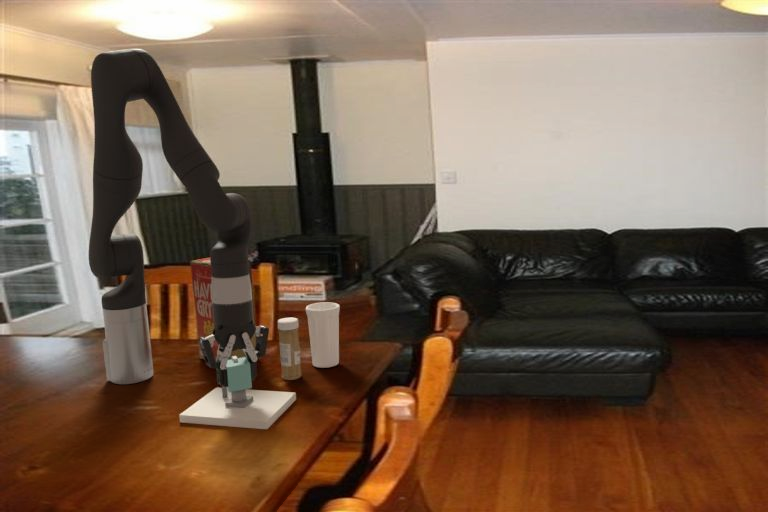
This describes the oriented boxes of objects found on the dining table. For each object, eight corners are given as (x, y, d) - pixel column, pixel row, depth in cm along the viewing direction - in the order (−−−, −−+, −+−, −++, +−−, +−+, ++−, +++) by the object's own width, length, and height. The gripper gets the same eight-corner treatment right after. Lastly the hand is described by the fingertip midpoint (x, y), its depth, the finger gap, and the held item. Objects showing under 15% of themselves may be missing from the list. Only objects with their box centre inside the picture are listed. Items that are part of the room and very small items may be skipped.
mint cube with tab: (251, 387, 121) (249, 360, 120) (229, 392, 119) (226, 364, 118) (246, 380, 125) (244, 354, 124) (224, 385, 123) (222, 357, 122)
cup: (330, 372, 142) (326, 312, 139) (301, 367, 146) (298, 308, 143) (349, 361, 149) (346, 303, 146) (321, 357, 153) (318, 300, 150)
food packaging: (197, 358, 155) (188, 260, 151) (228, 348, 162) (220, 254, 158) (228, 369, 147) (220, 265, 143) (260, 358, 154) (253, 258, 150)
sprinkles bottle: (305, 377, 139) (301, 319, 137) (286, 382, 137) (282, 323, 135) (296, 372, 143) (292, 315, 141) (278, 376, 141) (274, 319, 138)
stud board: (179, 422, 118) (177, 398, 117) (216, 394, 131) (215, 373, 131) (267, 429, 114) (265, 405, 113) (296, 399, 127) (294, 377, 126)
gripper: (203, 307, 112) (210, 397, 114) (274, 295, 120) (279, 379, 123) (188, 301, 118) (195, 386, 120) (257, 289, 126) (262, 370, 129)
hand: (237, 382), depth 122 cm, fingers closed on mint cube with tab, 5 cm apart
